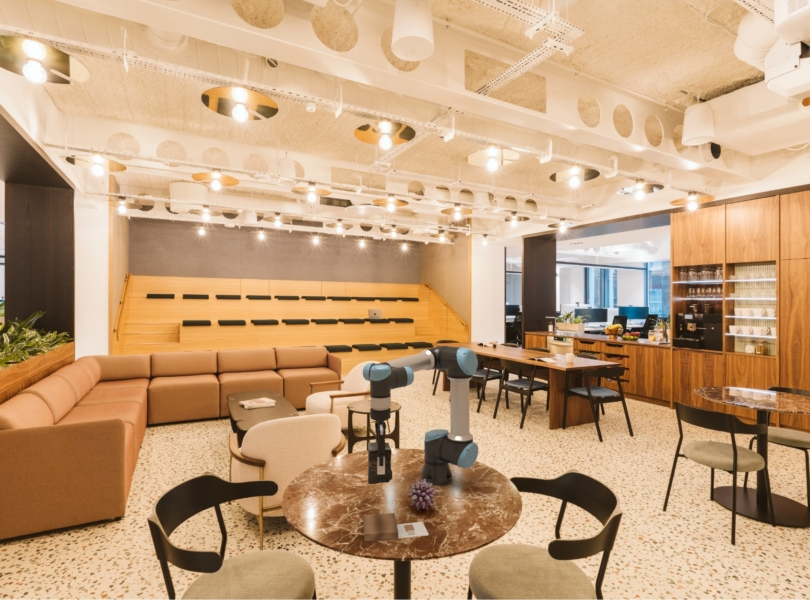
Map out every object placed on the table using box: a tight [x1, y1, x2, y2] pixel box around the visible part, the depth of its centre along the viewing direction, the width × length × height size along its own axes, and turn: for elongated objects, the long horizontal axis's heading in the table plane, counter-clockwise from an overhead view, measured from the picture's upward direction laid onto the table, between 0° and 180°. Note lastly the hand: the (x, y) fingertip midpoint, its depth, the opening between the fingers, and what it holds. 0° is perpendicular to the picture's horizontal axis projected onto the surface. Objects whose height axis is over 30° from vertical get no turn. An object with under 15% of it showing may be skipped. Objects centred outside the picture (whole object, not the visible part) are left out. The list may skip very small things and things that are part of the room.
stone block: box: [367, 441, 393, 485], centre depth 152 cm, size 9×14×5 cm
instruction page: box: [397, 521, 429, 540], centre depth 152 cm, size 12×9×1 cm
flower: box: [407, 478, 437, 511], centre depth 168 cm, size 12×12×12 cm
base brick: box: [362, 512, 399, 542], centre depth 152 cm, size 12×13×3 cm
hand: (380, 469), depth 152 cm, fingers closed on stone block, 6 cm apart
